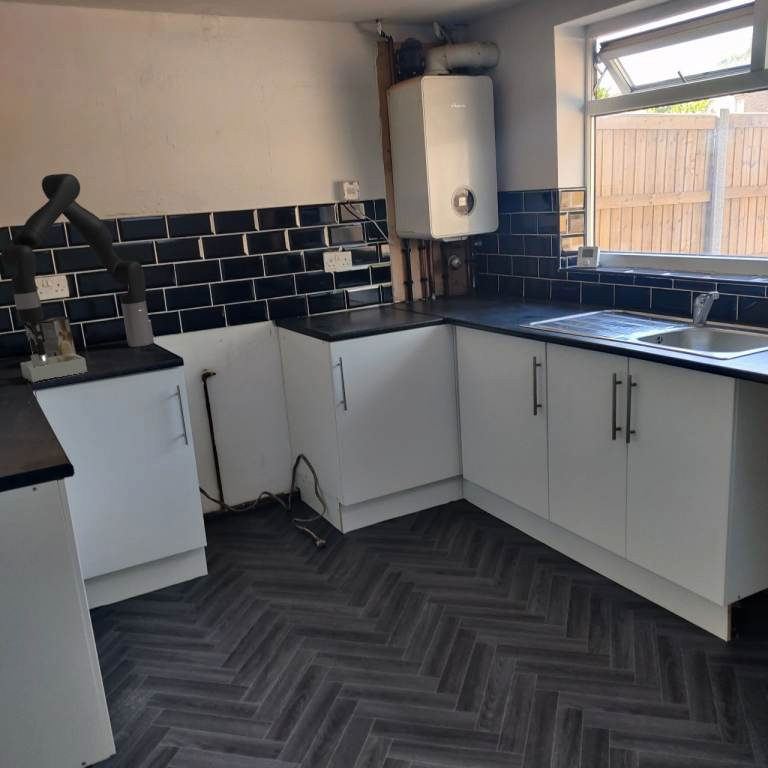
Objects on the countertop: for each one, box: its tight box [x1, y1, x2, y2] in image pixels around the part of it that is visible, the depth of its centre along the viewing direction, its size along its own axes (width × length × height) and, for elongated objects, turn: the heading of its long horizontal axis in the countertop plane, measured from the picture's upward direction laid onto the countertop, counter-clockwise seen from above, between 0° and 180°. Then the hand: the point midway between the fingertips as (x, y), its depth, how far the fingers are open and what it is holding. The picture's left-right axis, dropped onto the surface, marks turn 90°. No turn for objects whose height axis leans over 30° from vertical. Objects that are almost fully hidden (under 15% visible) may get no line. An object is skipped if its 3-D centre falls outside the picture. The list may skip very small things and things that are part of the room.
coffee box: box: [38, 316, 77, 358], centre depth 268 cm, size 9×6×16 cm
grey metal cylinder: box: [30, 353, 49, 368], centre depth 246 cm, size 5×5×7 cm
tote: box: [20, 353, 88, 384], centre depth 249 cm, size 18×14×5 cm
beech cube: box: [56, 354, 76, 363], centre depth 251 cm, size 5×5×5 cm
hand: (38, 353), depth 245 cm, fingers open, 8 cm apart
